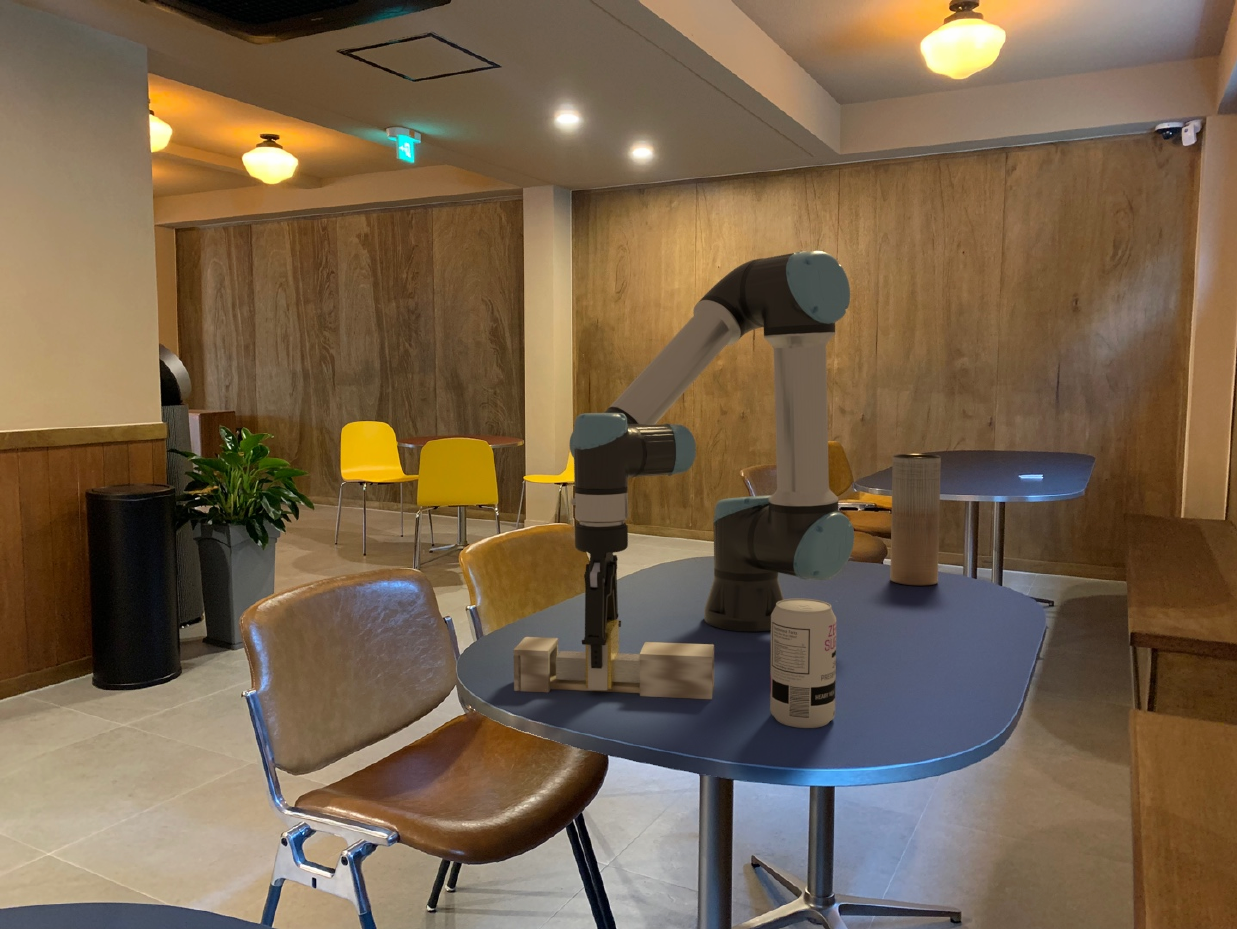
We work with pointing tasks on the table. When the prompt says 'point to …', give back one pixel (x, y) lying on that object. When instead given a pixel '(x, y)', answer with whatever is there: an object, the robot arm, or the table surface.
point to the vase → (915, 519)
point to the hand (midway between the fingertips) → (602, 679)
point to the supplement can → (803, 663)
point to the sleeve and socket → (660, 676)
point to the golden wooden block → (619, 664)
